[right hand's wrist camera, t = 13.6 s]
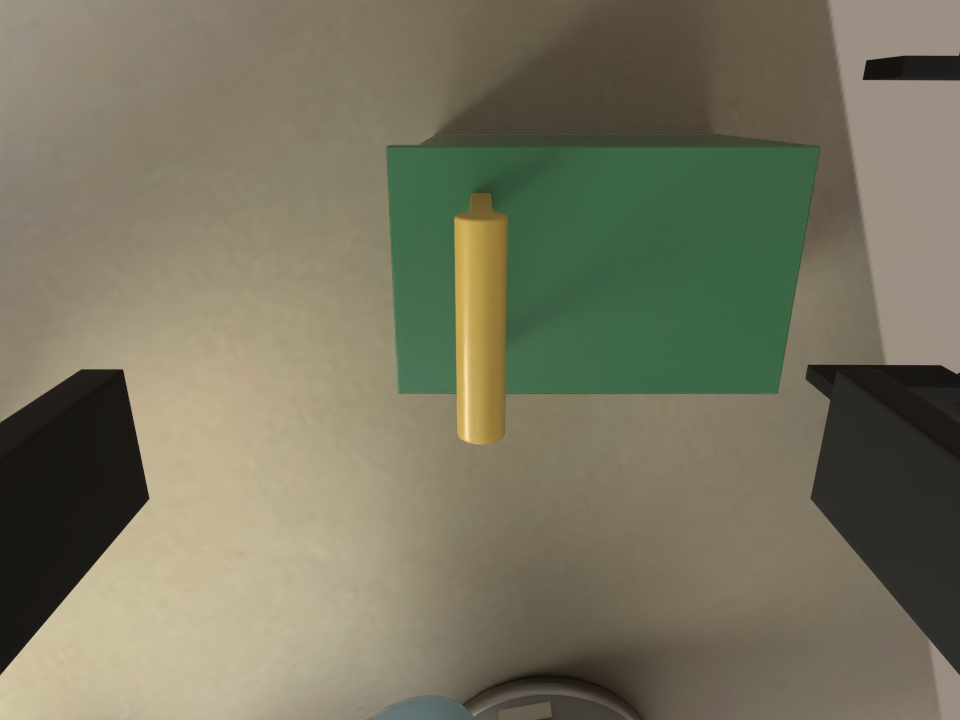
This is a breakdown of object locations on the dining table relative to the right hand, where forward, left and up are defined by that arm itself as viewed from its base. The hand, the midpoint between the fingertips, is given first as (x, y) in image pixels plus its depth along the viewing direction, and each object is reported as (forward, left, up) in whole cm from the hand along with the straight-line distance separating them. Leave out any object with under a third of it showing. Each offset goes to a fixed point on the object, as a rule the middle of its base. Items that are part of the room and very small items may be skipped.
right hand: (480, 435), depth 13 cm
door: (+1, -4, -13) cm, 14 cm away
